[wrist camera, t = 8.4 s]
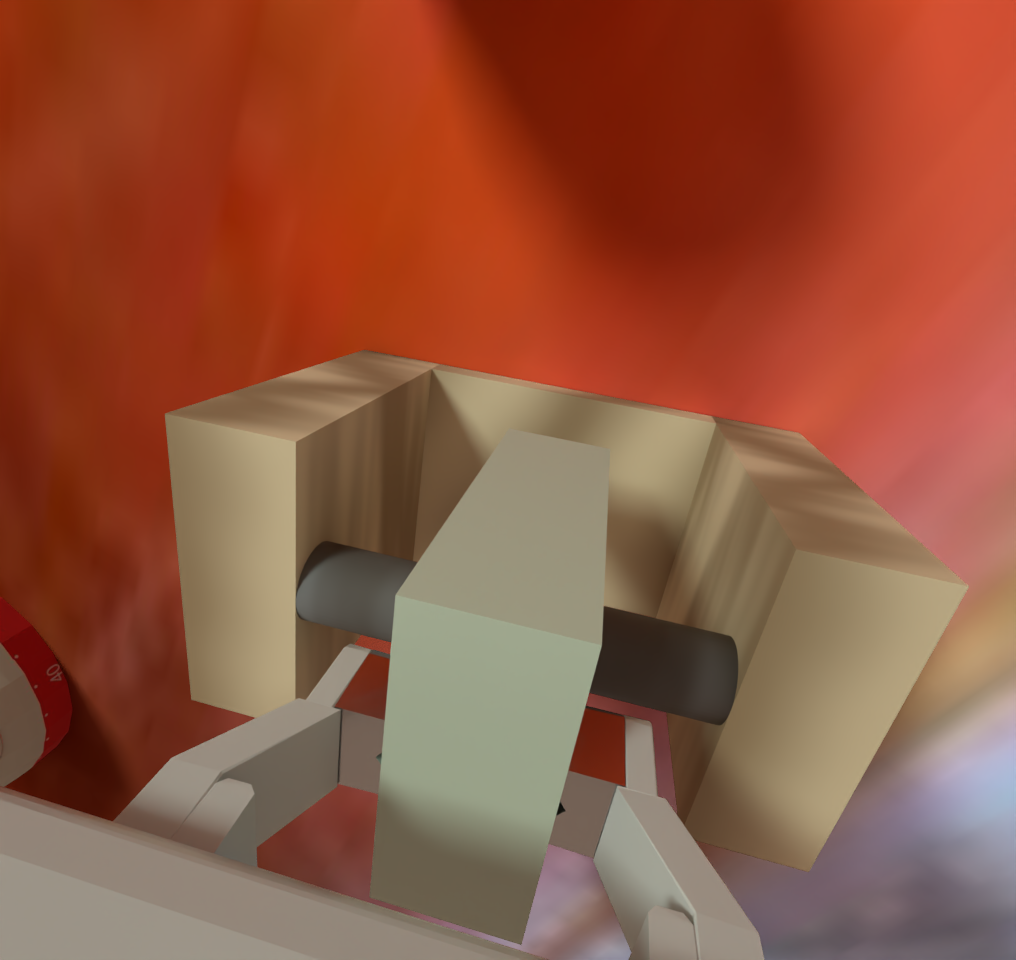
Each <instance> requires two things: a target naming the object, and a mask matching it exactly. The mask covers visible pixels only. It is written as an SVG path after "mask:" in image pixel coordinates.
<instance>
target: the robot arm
mask: <svg viewBox="0 0 1016 960" xmlns="http://www.w3.org/2000/svg"><path fill="white" fill-rule="evenodd" d="M389 665H390V654H387V653H383V652H380V651H376V650H370V649H367V648H364V647H360V646H357V645H353V644H349V645H347V646H346V647H344V648H343V650H342V651H341V652H340V654H339V655H338V657H337V658H336V659H335V661H334V662H333V663H332V665H331V666H330V667H329V669H328V670H327V672H326V673H325V674H324V676H323V677H322V678H321V680H320V681H319V683H318V684H317V685H316V687H315V688H314V689H313V691H312V692H311V693H310V695H309V696H308V698H307V699H306V700H304V699H300V698H298V699H296V700H294V701H292V702H289V703H287V704H285V705H283V706H281V707H279V708H277V709H275V710H272V711H270V712H268V713H266V714H264V715H262V716H260V717H258V718H255V719H253V720H251V721H249V722H247V723H245V724H243V725H241V726H238V727H236V728H234V729H232V730H230V731H228V732H226V733H224V734H221V735H219V736H217V737H215V738H213V739H211V740H209V741H207V742H204V743H202V744H200V745H198V746H196V747H194V748H192V749H190V750H187V751H185V752H183V753H181V754H179V755H177V756H175V757H173V758H171V759H170V760H169V761H168V762H167V763H166V764H165V766H164V767H163V768H162V769H161V770H160V771H159V772H158V773H157V774H156V775H155V776H154V778H153V779H152V780H151V781H150V782H149V783H148V784H147V785H146V786H145V787H144V788H143V789H142V791H141V792H140V793H139V794H138V795H137V796H136V797H135V798H134V799H133V800H132V801H131V802H130V804H129V805H128V806H127V807H126V808H125V809H124V810H123V811H122V812H121V813H120V814H119V816H118V817H117V818H116V819H115V820H114V821H113V822H112V821H109V820H106V819H103V818H100V817H97V816H94V815H90V814H87V813H84V812H81V811H78V810H75V809H71V808H68V807H65V806H62V805H59V804H56V803H52V802H49V801H46V800H43V799H40V798H37V797H34V796H30V795H27V794H24V793H21V792H18V791H15V790H11V789H8V788H5V787H2V786H0V960H548V959H545V958H542V957H539V956H536V955H532V954H529V953H526V952H523V951H520V950H517V949H513V948H510V947H507V946H504V945H501V944H497V943H494V942H491V941H488V940H485V939H482V938H478V937H475V936H472V935H469V934H466V933H463V932H459V931H456V930H453V929H450V928H447V927H444V926H440V925H437V924H434V923H431V922H428V921H425V920H422V919H418V918H415V917H412V916H409V915H406V914H403V913H400V912H396V911H393V910H390V909H387V908H384V907H381V906H378V905H374V904H371V903H368V902H365V901H362V900H359V899H356V898H352V897H349V896H346V895H343V894H340V893H337V892H333V891H330V890H327V889H324V888H321V887H318V886H315V885H311V884H308V883H305V882H302V881H299V880H296V879H293V878H289V877H286V876H283V875H280V874H277V873H274V872H270V871H267V870H264V869H261V868H258V867H257V850H256V847H258V846H259V845H260V844H262V843H263V842H264V841H266V840H267V839H268V838H270V837H271V836H272V835H274V834H275V833H276V832H277V831H279V830H280V829H281V828H283V827H284V826H285V825H287V824H288V823H289V822H291V821H292V820H293V819H295V818H296V817H297V816H299V815H300V814H301V813H303V812H304V811H305V810H307V809H308V808H309V807H311V806H312V805H313V804H315V803H316V802H317V801H319V800H320V799H321V798H323V797H324V796H325V795H327V794H328V793H329V792H331V791H332V790H333V789H335V788H336V787H337V783H338V784H341V785H345V786H349V787H353V788H357V789H361V790H365V791H369V792H372V793H376V794H378V793H379V782H380V770H381V758H382V747H383V735H384V723H385V712H386V700H387V688H388V677H389ZM549 844H551V845H554V846H558V847H561V848H564V849H567V850H570V851H573V852H576V853H579V854H582V855H585V856H589V857H592V858H594V860H593V861H594V864H595V866H596V869H597V871H598V873H599V876H600V878H601V881H602V883H603V885H604V888H605V890H606V892H607V895H608V897H609V900H610V902H611V904H612V907H613V909H614V912H615V914H616V916H617V919H618V921H619V923H620V926H621V928H622V931H623V933H624V935H625V938H626V940H627V943H628V945H629V947H630V950H631V952H632V953H631V955H630V958H629V960H764V956H763V951H762V946H761V942H760V937H759V933H758V932H757V930H756V929H755V927H754V926H753V924H752V923H751V922H750V920H749V919H748V917H747V916H746V914H745V913H744V911H743V910H742V909H741V907H740V906H739V904H738V903H737V901H736V900H735V898H734V897H733V895H732V894H731V893H730V891H729V890H728V888H727V887H726V885H725V884H724V882H723V881H722V879H721V878H720V877H719V875H718V874H717V872H716V871H715V869H714V868H713V866H712V865H711V863H710V862H709V861H708V859H707V858H706V856H705V855H704V853H703V852H702V850H701V849H700V848H699V846H698V845H697V843H696V842H695V840H694V839H693V837H692V836H691V834H690V833H689V832H688V830H687V829H686V827H685V826H684V824H683V823H682V821H681V820H680V818H679V817H678V816H677V814H676V813H675V811H674V810H673V808H672V807H671V805H670V804H669V802H668V801H667V800H666V799H664V798H661V797H658V791H657V778H656V765H655V752H654V740H653V727H652V724H651V722H650V721H647V720H643V719H639V718H634V717H630V716H626V715H624V716H623V715H621V714H617V713H613V712H609V711H605V710H601V709H597V708H593V707H589V706H585V710H584V714H583V717H582V721H581V725H580V728H579V732H578V736H577V740H576V743H575V747H574V751H573V754H572V758H571V762H570V766H569V769H568V773H567V777H566V780H565V784H564V788H563V792H562V795H561V799H560V803H559V806H558V810H557V814H556V818H555V821H554V825H553V829H552V832H551V836H550V840H549Z"/></svg>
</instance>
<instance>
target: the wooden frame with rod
mask: <svg viewBox="0 0 1016 960" xmlns="http://www.w3.org/2000/svg"><path fill="white" fill-rule="evenodd" d="M165 420H166V431H167V442H168V452H169V463H170V474H171V485H172V496H173V506H174V517H175V528H176V539H177V549H178V560H179V571H180V582H181V592H182V603H183V614H184V625H185V635H186V646H187V657H188V668H189V678H190V689H191V700H195V701H198V702H202V703H205V704H209V705H212V706H216V707H220V708H223V709H227V710H230V711H234V712H237V713H241V714H245V715H248V716H252V717H255V718H258V717H260V716H262V715H264V714H266V713H268V712H270V711H272V710H275V709H277V708H279V707H281V706H283V705H285V704H287V703H289V702H292V701H294V700H296V699H298V698H300V699H304V700H306V699H307V698H308V696H309V695H310V693H311V692H312V691H313V689H314V688H315V687H316V685H317V684H318V683H319V681H320V680H321V678H322V677H323V676H324V674H325V673H326V672H327V670H328V669H329V667H330V666H331V665H332V663H333V662H334V661H335V659H336V658H337V657H338V655H339V654H340V652H341V651H342V650H343V648H344V647H346V646H347V645H349V644H353V645H354V644H355V643H356V641H357V640H358V638H359V637H360V636H361V635H364V636H368V637H372V638H376V639H380V640H384V641H388V642H392V630H393V618H394V607H395V595H396V594H397V592H398V591H399V589H400V588H401V586H402V585H403V583H404V582H405V580H406V579H407V577H408V576H409V574H410V573H411V572H412V570H413V569H414V567H415V566H416V564H417V563H418V561H419V560H420V558H421V557H422V555H423V554H424V552H425V551H426V550H427V548H428V547H429V545H430V544H431V542H432V541H433V539H434V538H435V536H436V535H437V533H438V532H439V531H440V529H441V528H442V526H443V525H444V523H445V522H446V520H447V519H448V517H449V516H450V514H451V513H452V511H453V510H454V509H455V507H456V506H457V504H458V503H459V501H460V500H461V498H462V497H463V495H464V494H465V492H466V491H467V489H468V488H469V487H470V485H471V484H472V482H473V481H474V479H475V478H476V476H477V475H478V473H479V472H480V470H481V469H482V467H483V466H484V465H485V463H486V462H487V460H488V459H489V457H490V456H491V454H492V453H493V451H494V450H495V448H496V447H497V446H498V444H499V443H500V441H501V440H502V438H503V437H504V435H505V434H506V432H507V431H508V429H509V428H510V429H514V430H519V431H524V432H529V433H534V434H539V435H544V436H549V437H554V438H559V439H564V440H569V441H574V442H579V443H584V444H589V445H594V446H599V447H603V448H608V449H610V466H609V490H608V513H607V537H606V560H605V584H604V607H603V631H602V647H601V650H600V654H599V658H598V662H597V665H596V669H595V673H594V676H593V680H592V684H591V688H590V691H589V693H592V694H596V695H600V696H604V697H608V698H612V699H616V700H620V701H624V702H628V703H632V704H636V705H639V706H643V707H647V708H651V709H655V710H659V711H663V712H666V713H667V723H668V732H669V741H670V750H671V759H672V768H673V777H674V786H675V795H676V805H677V814H678V817H679V818H680V820H681V821H682V823H683V824H684V826H685V827H686V829H687V830H688V832H689V833H690V834H691V836H692V837H693V839H694V840H695V841H699V842H703V843H706V844H710V845H713V846H717V847H721V848H724V849H728V850H731V851H735V852H738V853H742V854H746V855H749V856H753V857H756V858H760V859H763V860H767V861H771V862H774V863H778V864H781V865H785V866H788V867H792V868H796V869H799V870H803V871H806V872H809V871H810V869H811V867H812V865H813V864H814V862H815V860H816V858H817V857H818V855H819V853H820V851H821V849H822V848H823V846H824V844H825V842H826V841H827V839H828V837H829V835H830V833H831V832H832V830H833V828H834V826H835V824H836V823H837V821H838V819H839V817H840V816H841V814H842V812H843V810H844V808H845V807H846V805H847V803H848V801H849V800H850V798H851V796H852V794H853V792H854V791H855V789H856V787H857V785H858V784H859V782H860V780H861V778H862V776H863V775H864V773H865V771H866V769H867V767H868V766H869V764H870V762H871V760H872V759H873V757H874V755H875V753H876V751H877V750H878V748H879V746H880V744H881V743H882V741H883V739H884V737H885V735H886V734H887V732H888V730H889V728H890V726H891V725H892V723H893V721H894V719H895V718H896V716H897V714H898V712H899V710H900V709H901V707H902V705H903V703H904V702H905V700H906V698H907V696H908V694H909V693H910V691H911V689H912V687H913V686H914V684H915V682H916V680H917V678H918V677H919V675H920V673H921V671H922V669H923V668H924V666H925V664H926V662H927V661H928V659H929V657H930V655H931V653H932V652H933V650H934V648H935V646H936V645H937V643H938V641H939V639H940V637H941V636H942V634H943V632H944V630H945V628H946V627H947V625H948V623H949V621H950V620H951V618H952V616H953V614H954V612H955V611H956V609H957V607H958V605H959V604H960V602H961V600H962V598H963V596H964V595H965V593H966V591H967V589H968V588H969V586H968V585H967V584H966V583H965V582H964V581H962V580H961V579H960V578H959V577H958V576H957V575H956V574H955V573H954V572H952V571H951V570H950V569H949V568H948V567H947V566H946V565H945V564H944V563H943V562H941V561H940V560H939V559H938V558H937V557H936V556H935V555H934V554H933V553H931V552H930V551H929V550H928V549H927V548H926V547H925V546H924V545H923V544H922V543H920V542H919V541H918V540H917V539H916V538H915V537H914V536H913V535H912V534H910V533H909V532H908V531H907V530H906V529H905V528H904V527H903V526H902V525H901V524H899V523H898V522H897V521H896V520H895V519H894V518H893V517H892V516H891V515H889V514H888V513H887V512H886V511H885V510H884V509H883V508H882V507H881V506H880V505H878V504H877V503H876V502H875V501H874V500H873V499H872V498H871V497H870V496H868V495H867V494H866V493H865V492H864V491H863V490H862V489H861V488H860V487H859V486H857V485H856V484H855V483H854V482H853V481H852V480H851V479H850V478H849V477H847V476H846V475H845V474H844V473H843V472H842V471H841V470H840V469H839V468H837V467H836V466H835V465H834V464H833V463H832V462H831V461H830V460H829V459H828V458H826V457H825V456H824V455H823V454H822V453H821V452H820V451H819V450H818V449H816V448H815V447H814V446H813V445H812V444H811V443H810V442H809V441H808V440H807V439H805V438H804V437H803V436H802V435H801V434H800V433H797V432H792V431H786V430H781V429H776V428H771V427H765V426H760V425H755V424H750V423H744V422H739V421H734V420H729V419H724V418H718V417H713V416H708V415H703V414H697V413H692V412H687V411H682V410H676V409H671V408H666V407H661V406H656V405H650V404H645V403H640V402H635V401H629V400H624V399H619V398H614V397H608V396H603V395H598V394H593V393H588V392H582V391H577V390H572V389H567V388H561V387H556V386H551V385H546V384H540V383H535V382H530V381H525V380H520V379H514V378H509V377H504V376H499V375H493V374H488V373H483V372H478V371H473V370H467V369H462V368H457V367H452V366H446V365H441V364H436V363H431V362H425V361H420V360H415V359H410V358H405V357H399V356H394V355H389V354H384V353H378V352H373V351H368V350H362V351H359V352H356V353H353V354H350V355H347V356H344V357H340V358H337V359H334V360H331V361H328V362H325V363H322V364H319V365H315V366H312V367H309V368H306V369H303V370H300V371H297V372H294V373H290V374H287V375H284V376H281V377H278V378H275V379H272V380H269V381H265V382H262V383H259V384H256V385H253V386H250V387H247V388H244V389H240V390H237V391H234V392H231V393H228V394H225V395H222V396H219V397H215V398H212V399H209V400H206V401H203V402H200V403H197V404H194V405H190V406H187V407H184V408H181V409H178V410H175V411H172V412H169V413H166V414H165ZM415 561H416V562H415ZM606 606H607V607H606ZM610 607H612V608H610ZM614 608H616V609H614ZM619 609H620V610H619ZM623 610H624V611H623ZM627 611H629V612H627ZM631 612H633V613H631ZM636 613H637V614H636ZM640 614H641V615H640ZM644 615H646V616H644ZM648 616H650V617H648ZM653 617H654V618H653Z"/></svg>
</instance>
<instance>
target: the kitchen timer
mask: <svg viewBox="0 0 1016 960" xmlns="http://www.w3.org/2000/svg"><path fill="white" fill-rule="evenodd" d="M72 710H73V708H72V703H71V698H70V693H69V688H68V683H67V681H66V678H65V676H64V674H63V672H62V670H61V668H60V666H59V664H58V662H57V660H56V658H55V656H54V654H53V652H52V651H51V650H50V648H49V647H48V646H47V645H46V643H45V642H44V641H43V639H42V638H41V637H40V635H39V634H38V633H37V631H36V630H35V629H34V627H33V626H32V625H31V624H30V623H29V622H28V621H27V620H26V619H25V618H24V617H22V616H21V615H20V614H19V613H18V612H17V611H16V610H15V609H14V608H13V607H12V606H11V605H9V604H8V603H7V602H6V601H5V600H4V599H3V598H1V597H0V786H2V787H5V786H6V785H8V784H9V783H11V782H12V781H14V780H15V779H17V778H18V777H20V776H21V775H23V774H24V773H25V772H27V771H28V770H29V769H31V768H32V767H33V766H35V765H36V764H37V763H38V762H39V761H40V760H42V759H43V758H44V757H45V756H46V755H47V754H49V753H50V752H51V751H52V750H53V749H54V748H56V747H57V746H58V745H59V743H60V742H61V741H62V739H63V738H64V736H65V735H66V734H67V732H68V731H69V727H70V722H71V716H72Z"/></svg>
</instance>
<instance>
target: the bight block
mask: <svg viewBox="0 0 1016 960" xmlns="http://www.w3.org/2000/svg"><path fill="white" fill-rule="evenodd" d="M609 466H610V449H608V448H603V447H599V446H594V445H589V444H584V443H579V442H574V441H569V440H564V439H559V438H554V437H549V436H544V435H539V434H534V433H529V432H524V431H519V430H514V429H510V428H509V429H508V431H507V432H506V434H505V435H504V437H503V438H502V440H501V441H500V443H499V444H498V446H497V447H496V448H495V450H494V451H493V453H492V454H491V456H490V457H489V459H488V460H487V462H486V463H485V465H484V466H483V467H482V469H481V470H480V472H479V473H478V475H477V476H476V478H475V479H474V481H473V482H472V484H471V485H470V487H469V488H468V489H467V491H466V492H465V494H464V495H463V497H462V498H461V500H460V501H459V503H458V504H457V506H456V507H455V509H454V510H453V511H452V513H451V514H450V516H449V517H448V519H447V520H446V522H445V523H444V525H443V526H442V528H441V529H440V531H439V532H438V533H437V535H436V536H435V538H434V539H433V541H432V542H431V544H430V545H429V547H428V548H427V550H426V551H425V552H424V554H423V555H422V557H421V558H420V560H419V561H418V563H417V564H416V566H415V567H414V569H413V570H412V572H411V573H410V574H409V576H408V577H407V579H406V580H405V582H404V583H403V585H402V586H401V588H400V589H399V591H398V592H397V594H396V595H395V607H394V618H393V630H392V642H391V653H390V665H389V677H388V688H387V700H386V712H385V723H384V735H383V747H382V758H381V770H380V782H379V793H378V805H377V817H376V828H375V840H374V852H373V863H372V875H371V887H370V898H373V899H376V900H380V901H383V902H386V903H389V904H392V905H396V906H399V907H402V908H405V909H408V910H412V911H415V912H418V913H421V914H424V915H428V916H431V917H434V918H437V919H440V920H444V921H447V922H450V923H453V924H456V925H460V926H463V927H466V928H469V929H472V930H476V931H479V932H482V933H485V934H488V935H492V936H495V937H498V938H501V939H504V940H508V941H511V942H514V943H517V944H520V945H521V944H522V940H523V936H524V933H525V929H526V925H527V921H528V918H529V914H530V910H531V907H532V903H533V899H534V896H535V892H536V888H537V884H538V881H539V877H540V873H541V870H542V866H543V862H544V858H545V855H546V851H547V847H548V844H549V840H550V836H551V832H552V829H553V825H554V821H555V818H556V814H557V810H558V806H559V803H560V799H561V795H562V792H563V788H564V784H565V780H566V777H567V773H568V769H569V766H570V762H571V758H572V754H573V751H574V747H575V743H576V740H577V736H578V732H579V728H580V725H581V721H582V717H583V714H584V710H585V706H586V702H587V699H588V695H589V691H590V688H591V684H592V680H593V676H594V673H595V669H596V665H597V662H598V658H599V654H600V650H601V647H602V631H603V607H604V584H605V560H606V537H607V513H608V490H609Z"/></svg>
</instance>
